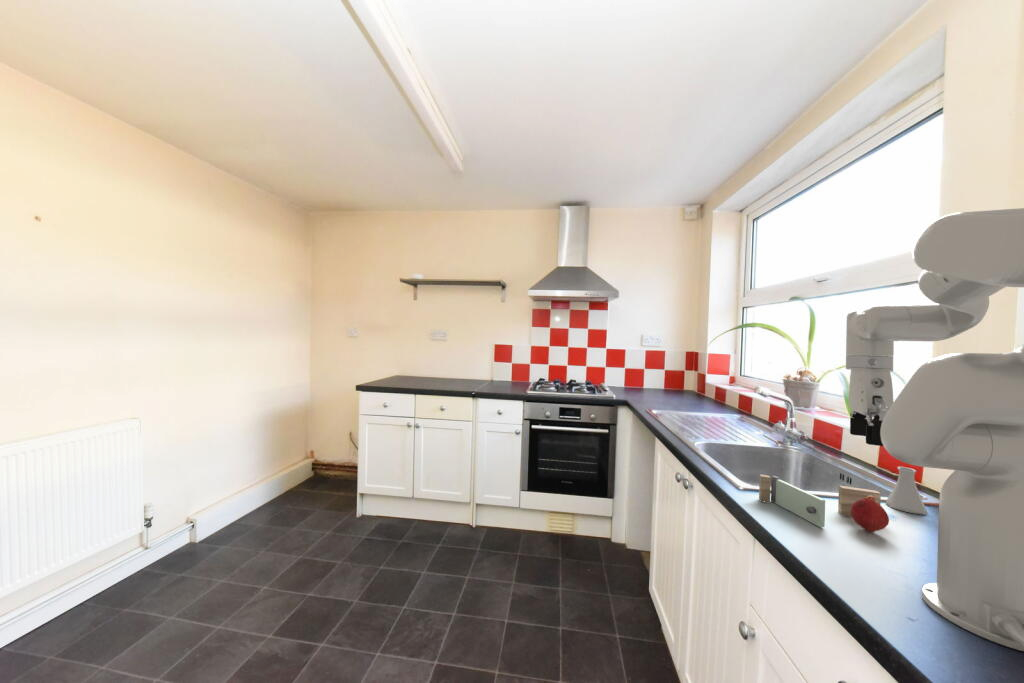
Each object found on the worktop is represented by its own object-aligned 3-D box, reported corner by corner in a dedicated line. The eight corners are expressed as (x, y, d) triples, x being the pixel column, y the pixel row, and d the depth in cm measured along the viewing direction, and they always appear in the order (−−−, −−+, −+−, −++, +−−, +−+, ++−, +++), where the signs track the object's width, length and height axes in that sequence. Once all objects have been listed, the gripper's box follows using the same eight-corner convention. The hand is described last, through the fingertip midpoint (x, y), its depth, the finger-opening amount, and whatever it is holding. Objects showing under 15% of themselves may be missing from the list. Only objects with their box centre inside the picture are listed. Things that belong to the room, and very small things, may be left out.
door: (816, 527, 78) (817, 499, 78) (766, 500, 91) (767, 476, 91) (825, 527, 78) (826, 498, 78) (774, 500, 91) (775, 475, 91)
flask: (932, 518, 84) (933, 476, 84) (888, 509, 88) (889, 469, 88) (922, 507, 89) (923, 468, 89) (881, 499, 94) (882, 461, 94)
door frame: (879, 521, 82) (880, 493, 82) (760, 501, 91) (761, 476, 91) (876, 518, 83) (876, 490, 83) (759, 498, 92) (759, 474, 92)
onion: (861, 536, 75) (862, 499, 75) (843, 523, 81) (845, 488, 81) (895, 541, 74) (896, 503, 73) (875, 527, 79) (876, 491, 79)
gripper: (911, 366, 70) (910, 452, 70) (875, 363, 85) (874, 434, 85) (860, 364, 74) (858, 446, 73) (834, 361, 89) (833, 429, 89)
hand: (867, 439), depth 79 cm, fingers open, 9 cm apart
